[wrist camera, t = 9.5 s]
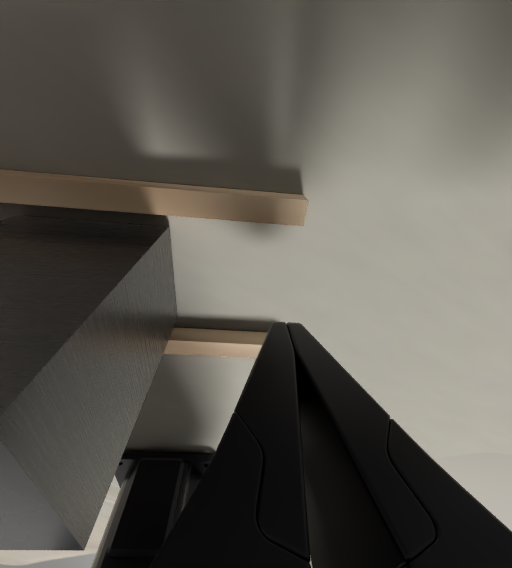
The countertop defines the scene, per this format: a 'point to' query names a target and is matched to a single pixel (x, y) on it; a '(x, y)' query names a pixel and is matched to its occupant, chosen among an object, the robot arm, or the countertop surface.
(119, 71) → the countertop surface
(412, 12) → the countertop surface
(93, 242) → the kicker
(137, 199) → the track
